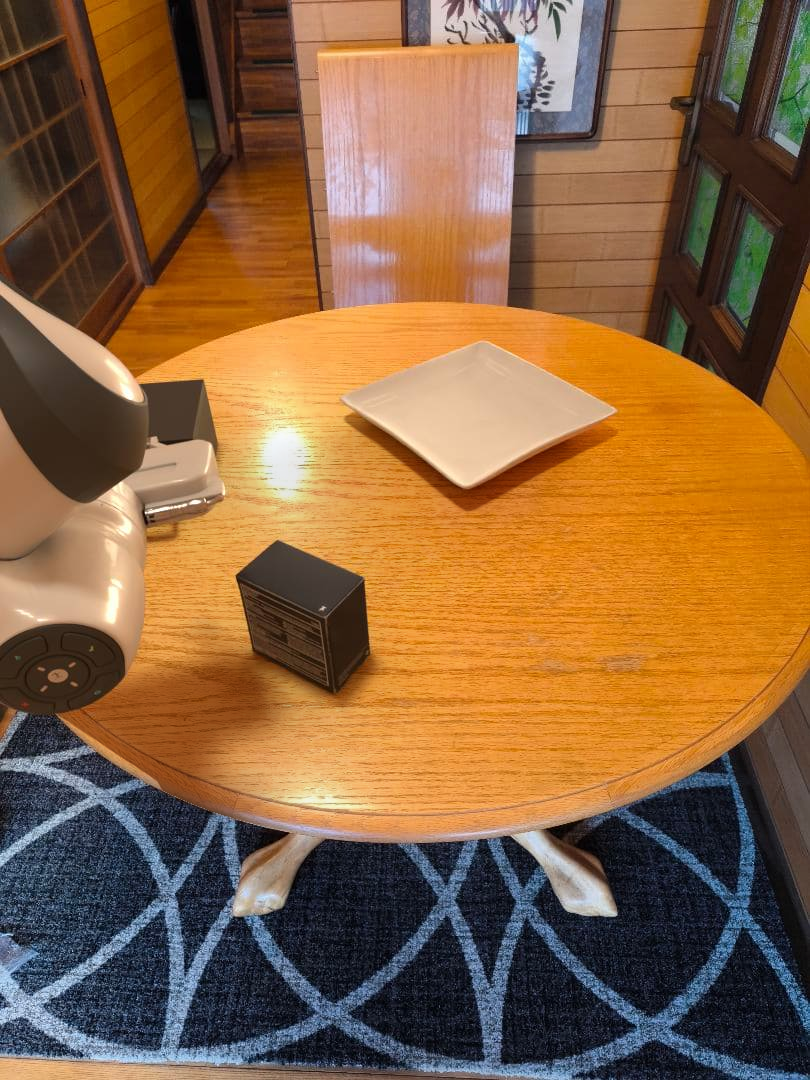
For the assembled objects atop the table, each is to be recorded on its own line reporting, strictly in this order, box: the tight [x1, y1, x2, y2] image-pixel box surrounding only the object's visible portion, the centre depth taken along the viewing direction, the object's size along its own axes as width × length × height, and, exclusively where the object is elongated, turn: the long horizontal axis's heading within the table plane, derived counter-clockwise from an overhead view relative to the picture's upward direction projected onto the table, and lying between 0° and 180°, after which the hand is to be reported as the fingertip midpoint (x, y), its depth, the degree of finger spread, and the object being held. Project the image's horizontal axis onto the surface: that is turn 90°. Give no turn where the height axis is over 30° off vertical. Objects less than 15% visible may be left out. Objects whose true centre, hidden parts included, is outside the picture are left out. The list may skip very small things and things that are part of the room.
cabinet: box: [138, 378, 218, 457], centre depth 95 cm, size 14×12×10 cm
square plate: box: [339, 340, 618, 490], centre depth 104 cm, size 27×27×4 cm
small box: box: [235, 539, 371, 695], centre depth 72 cm, size 11×6×10 cm, turn 58°
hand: (94, 456), depth 66 cm, fingers open, 8 cm apart
